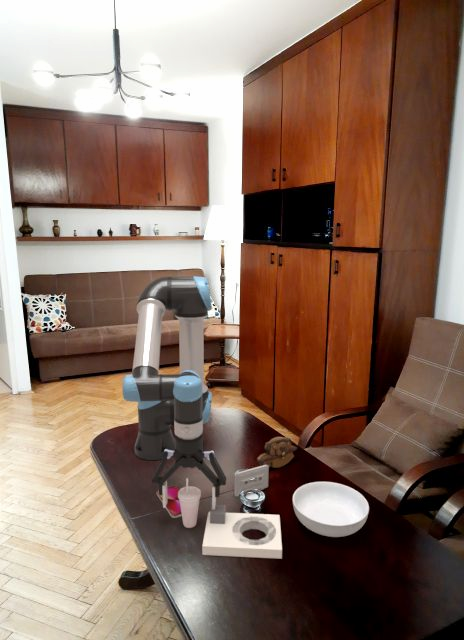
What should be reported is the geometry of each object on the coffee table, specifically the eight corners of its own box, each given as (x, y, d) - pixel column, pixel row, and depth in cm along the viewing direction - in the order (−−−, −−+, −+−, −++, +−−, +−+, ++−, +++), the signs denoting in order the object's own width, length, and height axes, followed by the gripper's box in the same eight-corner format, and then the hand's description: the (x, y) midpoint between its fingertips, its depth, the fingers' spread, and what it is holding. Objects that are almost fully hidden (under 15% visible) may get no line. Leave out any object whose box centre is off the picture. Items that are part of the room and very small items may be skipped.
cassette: (236, 498, 137) (236, 475, 136) (233, 495, 139) (233, 472, 137) (269, 488, 143) (269, 466, 141) (266, 485, 144) (266, 463, 143)
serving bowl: (369, 509, 132) (370, 488, 131) (365, 557, 113) (367, 532, 112) (299, 495, 139) (300, 475, 138) (284, 538, 120) (285, 515, 118)
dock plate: (208, 519, 127) (208, 502, 126) (279, 522, 126) (279, 505, 125) (202, 554, 113) (202, 535, 112) (281, 558, 112) (282, 539, 111)
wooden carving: (264, 476, 149) (265, 449, 147) (255, 470, 153) (256, 443, 151) (299, 461, 159) (300, 435, 157) (289, 456, 163) (290, 430, 161)
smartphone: (177, 484, 143) (196, 509, 130) (177, 487, 143) (196, 512, 131) (155, 490, 140) (172, 516, 127) (155, 493, 140) (172, 520, 127)
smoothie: (178, 516, 128) (177, 472, 125) (201, 515, 128) (200, 471, 126) (177, 531, 122) (177, 485, 119) (201, 530, 122) (201, 484, 119)
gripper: (139, 439, 117) (141, 512, 121) (234, 441, 115) (233, 515, 119) (145, 426, 124) (148, 496, 128) (235, 429, 123) (235, 499, 127)
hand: (189, 505), depth 124 cm, fingers open, 13 cm apart
